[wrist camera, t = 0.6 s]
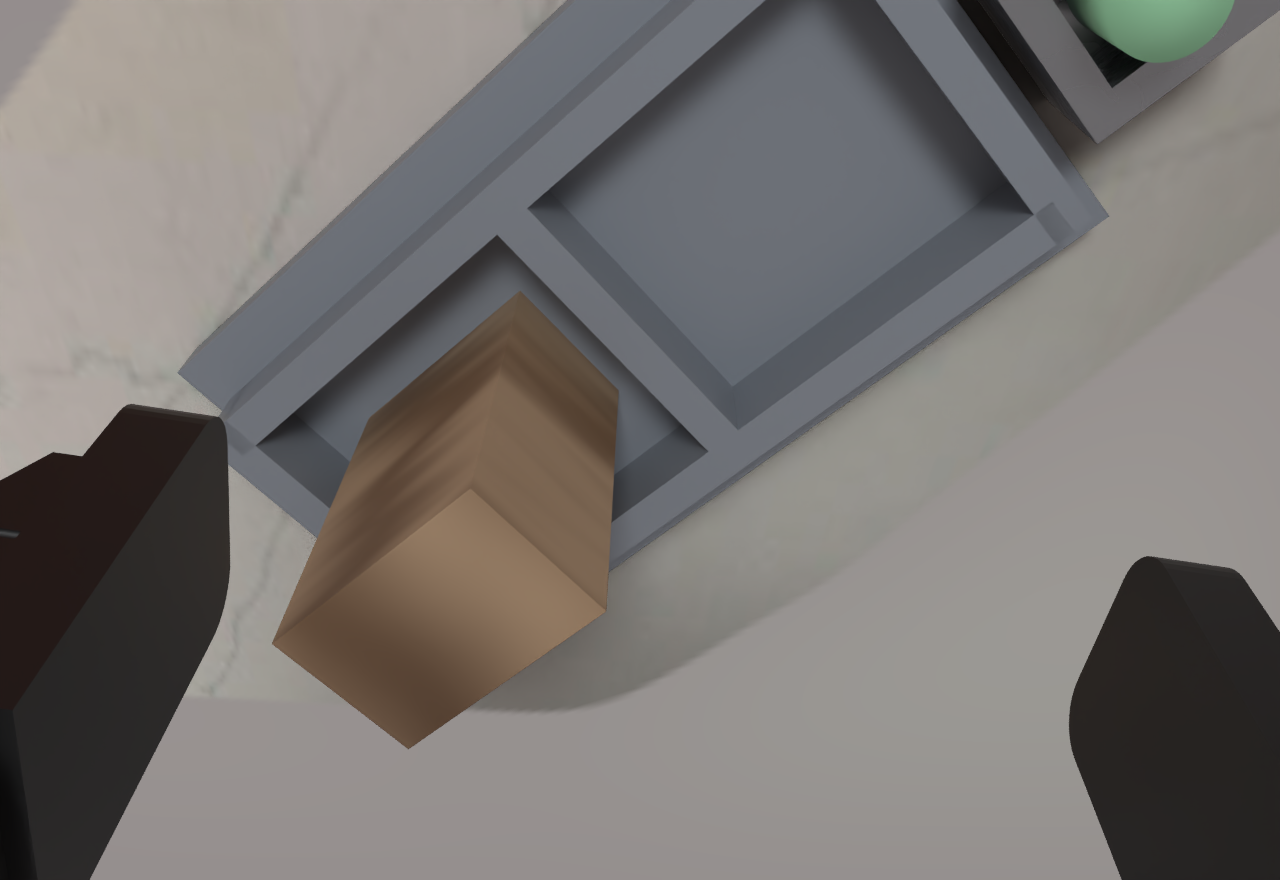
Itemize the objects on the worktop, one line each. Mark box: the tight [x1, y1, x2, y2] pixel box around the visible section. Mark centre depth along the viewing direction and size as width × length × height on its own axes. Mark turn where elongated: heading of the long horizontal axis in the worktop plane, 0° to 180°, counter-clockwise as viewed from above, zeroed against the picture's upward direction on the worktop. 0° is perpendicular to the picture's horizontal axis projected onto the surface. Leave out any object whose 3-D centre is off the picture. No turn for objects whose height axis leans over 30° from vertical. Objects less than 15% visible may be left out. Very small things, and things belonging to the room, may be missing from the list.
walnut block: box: [272, 291, 619, 749], centre depth 30 cm, size 6×4×10 cm, turn 131°
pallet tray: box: [178, 0, 1109, 571], centre depth 32 cm, size 22×13×4 cm, turn 131°
